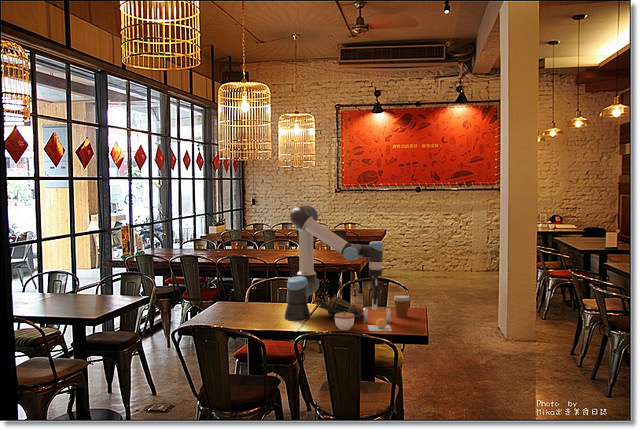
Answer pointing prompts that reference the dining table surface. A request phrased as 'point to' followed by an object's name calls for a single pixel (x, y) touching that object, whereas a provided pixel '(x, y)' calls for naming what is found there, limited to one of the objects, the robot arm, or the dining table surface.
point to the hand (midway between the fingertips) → (374, 309)
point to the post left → (365, 315)
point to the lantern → (339, 307)
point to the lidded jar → (344, 320)
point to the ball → (381, 323)
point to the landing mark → (375, 328)
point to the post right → (388, 315)
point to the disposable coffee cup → (401, 305)
